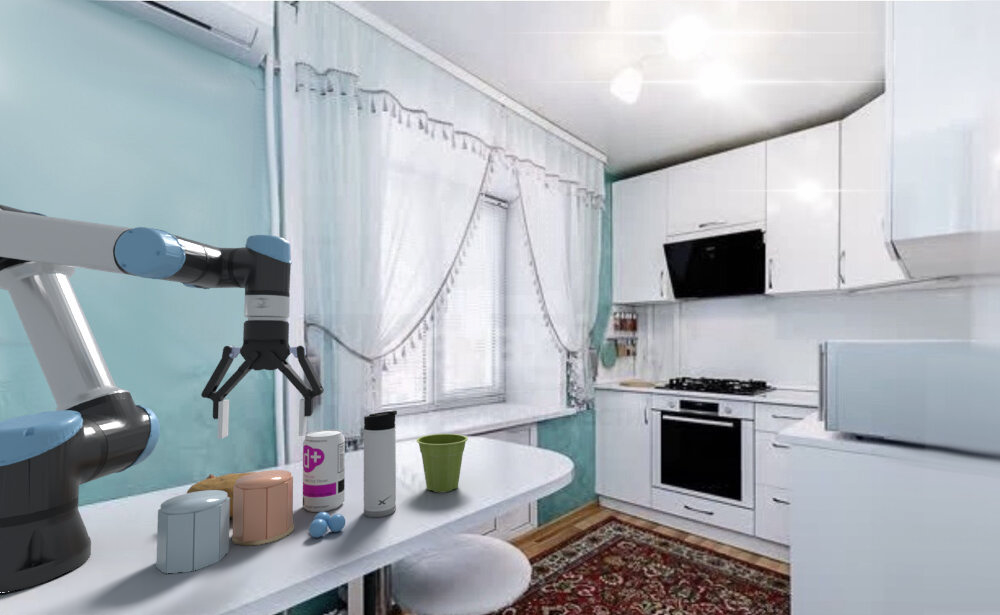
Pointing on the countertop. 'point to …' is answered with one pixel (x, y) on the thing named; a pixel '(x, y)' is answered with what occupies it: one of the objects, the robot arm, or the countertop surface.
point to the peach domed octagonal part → (262, 505)
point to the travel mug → (380, 464)
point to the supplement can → (323, 470)
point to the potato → (219, 486)
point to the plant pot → (442, 460)
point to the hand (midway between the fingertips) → (263, 435)
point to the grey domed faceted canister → (192, 531)
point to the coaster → (259, 542)
